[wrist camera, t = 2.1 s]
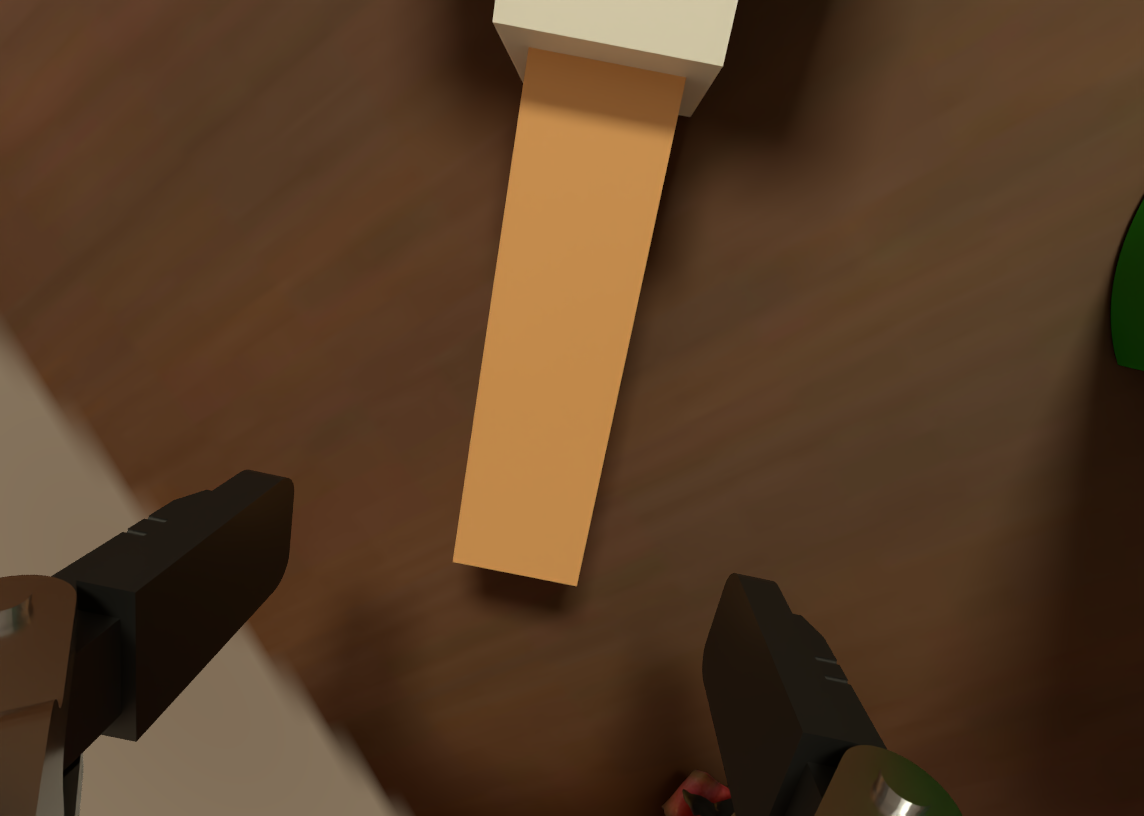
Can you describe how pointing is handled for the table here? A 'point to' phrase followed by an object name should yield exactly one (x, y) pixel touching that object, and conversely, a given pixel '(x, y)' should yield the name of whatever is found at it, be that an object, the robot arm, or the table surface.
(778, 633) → the robot arm
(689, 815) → the dragon fruit
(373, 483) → the table surface
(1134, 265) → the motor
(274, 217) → the table surface
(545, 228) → the plug
